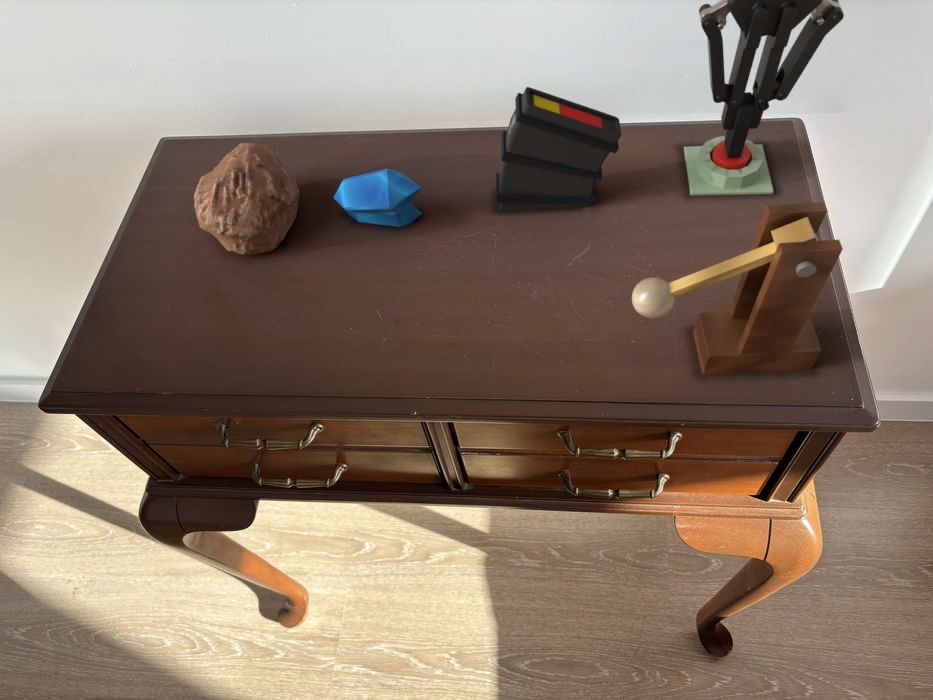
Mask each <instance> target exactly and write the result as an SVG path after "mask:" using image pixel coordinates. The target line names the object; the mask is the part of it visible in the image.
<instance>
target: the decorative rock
mask: <svg viewBox="0 0 933 700" xmlns="http://www.w3.org/2000/svg"><path fill="white" fill-rule="evenodd" d="M300 193H301V192H300V190H299V188H298V184H297V181H296V178H295V177H294V175H293V174H292V173H291V172H290V171H289V170H288V168H287V167H286V166H285V164H283V163H282V161H280V159H279V158H278V157H277V155H276V154H275V153H273V151H271V150H270V149H269V147H268V146H266V145H264V144H259V143H255V142H241V143H239V144H238V145H237V146H236V147H235V148H233V149H232V150H231V151H230V152H228V153H227V154H226V155H224V157H223V158H222V159H221V160H220V162H219V163H218V165H216V166H215V167H214V168H213V170H212V171H209V172H208V173H206V174H204V175H203V176H201V177H200V179H199V182H198V184H197V186H196V189H195V192H194V195H193V199H194V200H193V201H194V209H195V215H196V219H197V221H198V226H199V228H200V229H202V230H203V231H206V232H208V233H210V234H211V235H212V236H213V237H214V238H215V239H216V240H217V241H218V242H219V243H220V244H221V246H223V247H224V248H225V249H226V250H227V251H228V252H234V253H236V254H238V255H246V256H247V255H248V256H249V255H258V254H262V253H267V252H271V251H274V250H275V249H276V248H277V247H278V246H279V245H280V243H281V242H282V241H283V240H284V239H285V237H286V235H287V233H288V232H289V230H290V229H291V227H292V226H293V223H294V221H295V220H296V217H297V212H298V210H299V208H298V206H299V200H300V199H299V198H300V197H299V196H300Z"/></svg>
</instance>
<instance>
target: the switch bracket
mask: <svg viewBox="0 0 933 700" xmlns="http://www.w3.org/2000/svg"><path fill="white" fill-rule="evenodd" d="M827 213H828V209H827V206H826V203H825V201H815V202H813V201H812V202H800V203H785V204H767V205H766V206H765V208H764V211H763V214H762V217H761V220H760V223H759V226H758V229H757V231H756V234H755V236H754V240H753V242H752V245H751V248H750V251H752V250H754V249H757V248H759V247H762V246H765V245H767V244H770V243H772V242H774V240H773V237H772V234H771V231H773V230H775V229H778V228H780V227H783V226H785V225H788V224H790V223H793V222H795V221H798V220H800V219H803V218H805V217H808V218H809V220H810V223H811V225H812V227H813V230H814V232H815V234H816V235H817V234H818V232H819V231H820V227H821V226H822V224H823V221H824V219H825V217H826V214H827ZM842 251H843V246H842V244H841V241H840V239H823V240H818V241H805V242H789V243H779V244H778V247H777V249H776V252H775V254H774V257H773V259H772V262H769V263H767V264H764V265H761V266H759V267H756V268H754V269H751V270H748V271H746V272H743V273H741V276H740V279H739V282H738V285H737V288H736V291H735V294H734V296H733V299H732V302H731V305H730V308H729V311H715V312H714V311H713V312H699V313H698V315H697V318H696V321H695V325H694V329H693V332H692V333H693V339H694V343H695V347H696V352H697V356H698V362H699V366H700V371H701V374H702V375H703V376H704V375H723V374H725V375H726V374H743V373H744V374H745V373H746V374H747V373H767V372H788V371H790V372H791V371H807V370H808V371H811V370H812V368H813V367H814V365H815V363H816V361H817V360H818V358H819V356H820V354H821V353H822V348H821V345H820V342H819V339H818V336H817V332H816V330H815V328H814V327H815V326H814V324H813V321H812V318H811V311H812V310H813V308H814V306H815V304H816V302H817V300H818V298H819V296H820V294H821V293H822V291H823V288H824V286H825V284H826V283H827V281H828V279H829V277H830V275H831V273H832V271H833V270H834V267H835V265H836V263H837V261H838V260H839V258H840V255H841V254H842Z"/></svg>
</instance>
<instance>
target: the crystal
mask: <svg viewBox="0 0 933 700" xmlns="http://www.w3.org/2000/svg"><path fill="white" fill-rule="evenodd" d="M421 189H422V187H421V186H420V185H418V184H417V183H416V182H415V181H414V180H412V179H411V178H409V177H408V176H407V175H405V174H404V173H402V172H399V171H397V170H394V169H390V168H385V169H381V170H376V171H372V172H367V173H363V174H358V175H354V176H350V177H346V178H345V177H344V178H343V180H342V181H341V182H340V185H339V187H338V188H337V190H336V192H335V194H334V196H333V199H334V200H335V201H336V202H337V203H338V204H339V205H340V206H341V207H342V208H343V209H344V210H345V212H346V213H347V215H349V217H351V218H353V219H354V220H355V221H357V222H359V223H365V224H374V225H383V226H391V227H398V228H400V227H404V226H406V225H410V224H411V223H412V222H414V221H415V220H417V218H419V217H420V216H421V215H422V214H423V213H422V211H420V210H419V209H418V208H416V207H415V206H414V205H413V204H412V201H413V200H414V199H415V197H416V196H417V194H418V193H419V192H420V191H421Z"/></svg>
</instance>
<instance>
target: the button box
mask: <svg viewBox="0 0 933 700" xmlns="http://www.w3.org/2000/svg"><path fill="white" fill-rule="evenodd" d="M725 136H726V135H723V136H716V137H714V138H712V139H709V140H707V141H706V142H704V143H703V145H695V146H694V145H693V146H692V145H691V146H690V145H689V146H683V153H684V161H685V167H686V174H687V180H688V186H689V187H688V188H689V194H690V196H727V195H728V196H731V195H733V196H734V195H773V194H774V191H775V190H774V187H773V183H772V179H771V175H770V170H769V167H768V162H767V158H766V155H765V150H764V146H763V144H761V143H760V144H755V143H754V142H753V141H752V140H750V139H746V142H745V145H746V146H747V147H748V148H749V150H750V158H749V161H748V164H747V166H746V167H744V168H742V169H737V170H727V169H724V168H721V167H718V166H717V165H716V164H715V163H713V162H712V161H711V159H712V155H713V150H714V148H715V146H716V145H717V144H718V143H720V142H723V141H724V140H725Z"/></svg>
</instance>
